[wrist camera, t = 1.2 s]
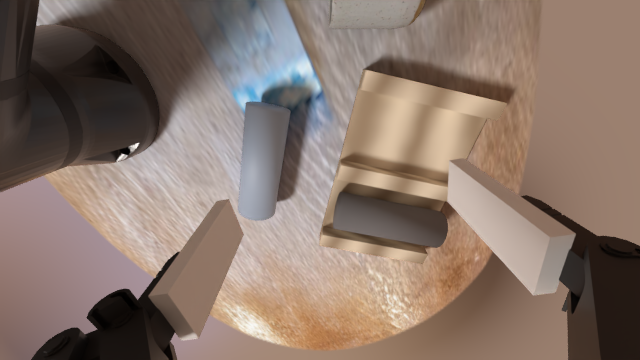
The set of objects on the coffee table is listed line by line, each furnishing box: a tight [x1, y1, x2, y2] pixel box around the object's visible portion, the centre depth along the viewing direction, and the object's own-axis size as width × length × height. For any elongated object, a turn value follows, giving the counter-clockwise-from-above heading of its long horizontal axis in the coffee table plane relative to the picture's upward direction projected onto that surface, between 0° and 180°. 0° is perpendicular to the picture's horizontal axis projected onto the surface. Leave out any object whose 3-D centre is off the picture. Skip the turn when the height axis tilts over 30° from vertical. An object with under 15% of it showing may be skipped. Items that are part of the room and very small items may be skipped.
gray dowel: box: [238, 102, 291, 220], centre depth 30 cm, size 14×5×5 cm, turn 168°
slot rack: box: [319, 70, 507, 264], centre depth 32 cm, size 16×24×3 cm, turn 168°
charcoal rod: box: [333, 192, 448, 248], centre depth 33 cm, size 14×5×5 cm
